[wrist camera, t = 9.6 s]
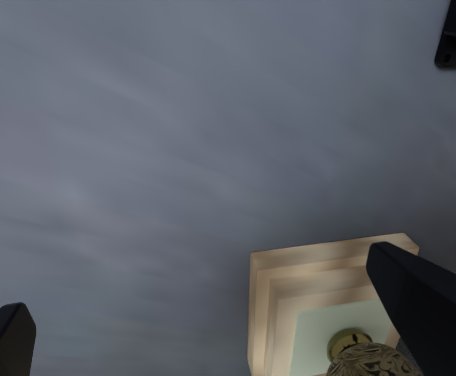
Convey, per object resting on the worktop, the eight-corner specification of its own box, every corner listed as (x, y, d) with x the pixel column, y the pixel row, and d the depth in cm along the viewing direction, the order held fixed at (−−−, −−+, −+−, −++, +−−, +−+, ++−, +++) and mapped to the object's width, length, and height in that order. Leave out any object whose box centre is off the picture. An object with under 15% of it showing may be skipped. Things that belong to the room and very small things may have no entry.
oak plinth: (403, 232, 28) (440, 267, 25) (371, 335, 35) (397, 374, 31) (250, 252, 26) (266, 293, 22) (247, 358, 32) (258, 403, 29)
